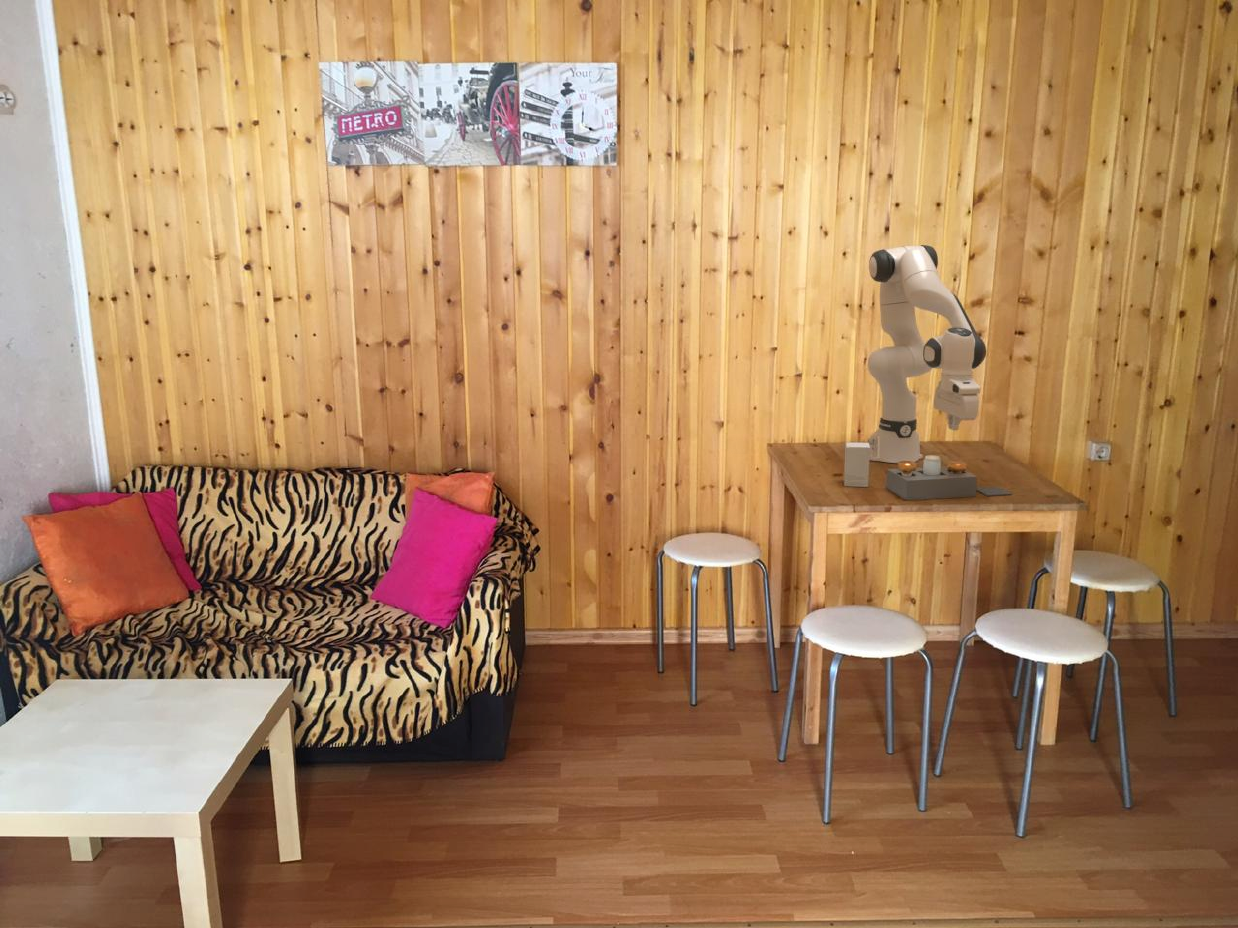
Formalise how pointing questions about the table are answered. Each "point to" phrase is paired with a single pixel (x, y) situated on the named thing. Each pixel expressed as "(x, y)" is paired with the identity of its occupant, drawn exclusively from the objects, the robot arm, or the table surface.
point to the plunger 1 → (906, 467)
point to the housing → (931, 484)
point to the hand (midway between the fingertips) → (953, 429)
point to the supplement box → (856, 464)
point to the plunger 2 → (956, 467)
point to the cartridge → (932, 465)
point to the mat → (993, 491)
